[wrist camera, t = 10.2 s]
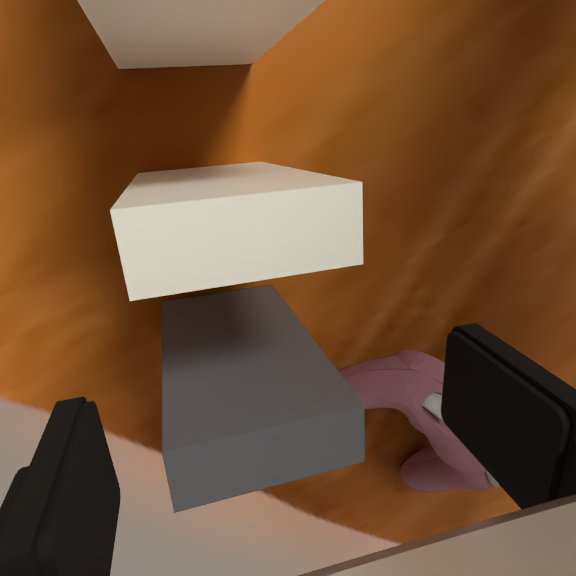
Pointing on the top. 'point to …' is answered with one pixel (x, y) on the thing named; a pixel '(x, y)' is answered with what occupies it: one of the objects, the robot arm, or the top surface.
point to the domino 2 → (234, 226)
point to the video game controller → (419, 419)
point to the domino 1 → (192, 29)
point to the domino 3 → (249, 398)
